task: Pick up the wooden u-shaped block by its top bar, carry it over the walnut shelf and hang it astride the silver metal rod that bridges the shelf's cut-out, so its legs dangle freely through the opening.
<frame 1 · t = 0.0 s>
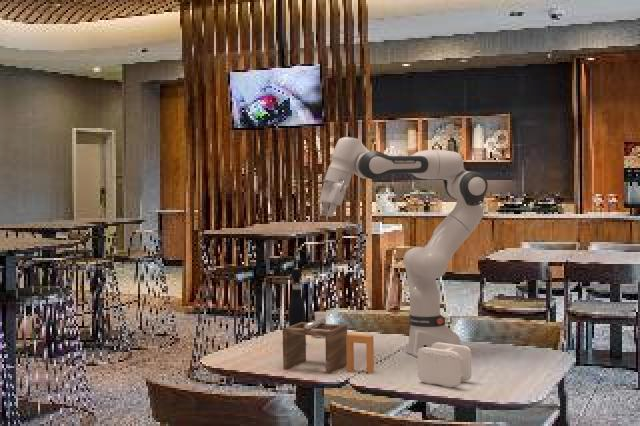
hand: (326, 215, 297), 52 cm above the table, tool tilted 20°, fingers open, 8 cm apart
salt shaker: (320, 337, 341), on the table
walnut shelf: (315, 366, 287), on the table
cable organizer: (445, 383, 263), on the table
wooden u-shaped block: (360, 371, 279), on the table
wine bottle: (297, 346, 323), on the table
hook rod: (315, 324, 287), on the walnut shelf, point 14 cm above the table
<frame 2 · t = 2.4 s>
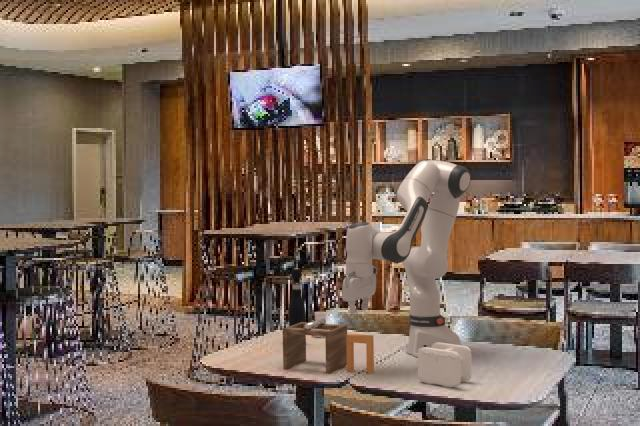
hand: (359, 311, 278), 20 cm above the table, tool pointing down, fingers open, 8 cm apart
nothing on the table moved.
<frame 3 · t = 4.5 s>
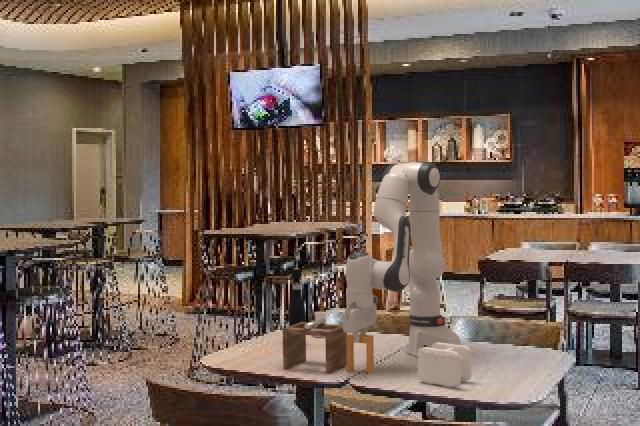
hand: (359, 341, 279), 10 cm above the table, tool pointing down, fingers closed on wooden u-shaped block, 2 cm apart
wooden u-shaped block: (360, 371, 279), on the table, touching gripper
everything else where it was.
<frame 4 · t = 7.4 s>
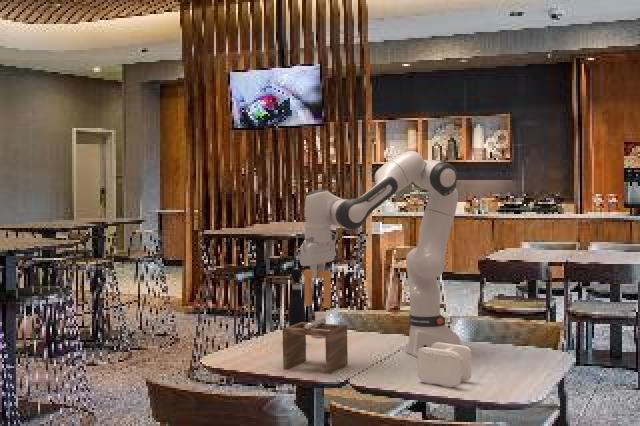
hand: (317, 276, 285), 32 cm above the table, tool pointing down, fingers closed on wooden u-shaped block, 2 cm apart
wooden u-shaped block: (317, 306, 285), point 21 cm above the table, touching gripper
everything else where it was.
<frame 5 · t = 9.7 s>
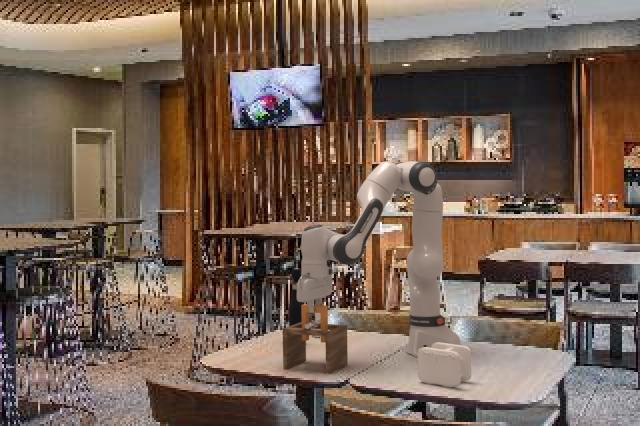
hand: (314, 311, 286), 19 cm above the table, tool pointing down, fingers closed on wooden u-shaped block, 2 cm apart
wooden u-shaped block: (314, 340, 287), point 9 cm above the table, touching gripper
everything else where it was.
when the fingers open (18 cm above the table, at t = 10.7 s): wooden u-shaped block drops 2 cm, resting on hook rod.
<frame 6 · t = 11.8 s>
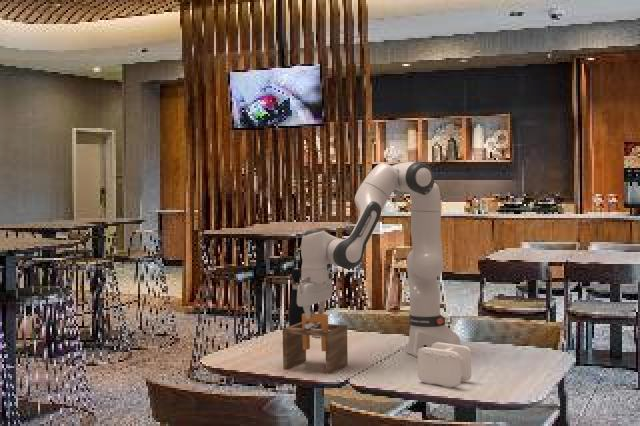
hand: (315, 315, 286), 18 cm above the table, tool pointing down, fingers open, 8 cm apart
wooden u-shaped block: (315, 349, 287), point 6 cm above the table, touching hook rod
everything else where it was.
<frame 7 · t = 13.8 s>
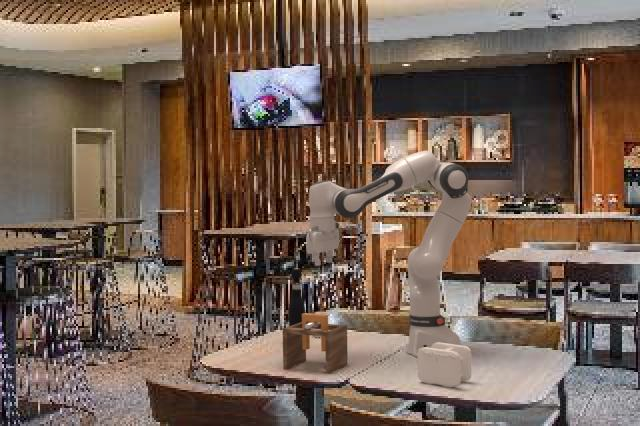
hand: (323, 263, 298), 35 cm above the table, tool pointing down, fingers open, 8 cm apart
nothing on the table moved.
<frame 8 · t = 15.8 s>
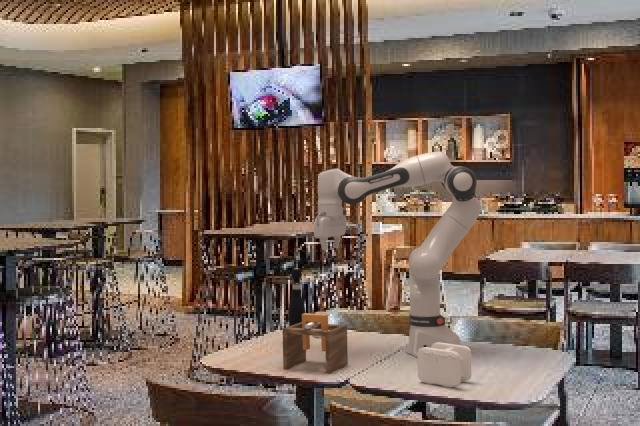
hand: (330, 248, 308), 39 cm above the table, tool pointing down, fingers open, 8 cm apart
nothing on the table moved.
at the end: wooden u-shaped block inside the target area on the hook rod (0.1 cm from its centre), point 6.0 cm above the hook rod's base; wooden u-shaped block touching hook rod; wooden u-shaped block tilted 1° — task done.
